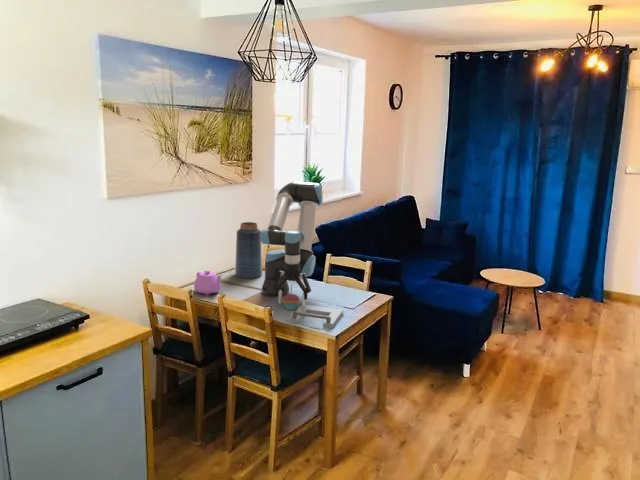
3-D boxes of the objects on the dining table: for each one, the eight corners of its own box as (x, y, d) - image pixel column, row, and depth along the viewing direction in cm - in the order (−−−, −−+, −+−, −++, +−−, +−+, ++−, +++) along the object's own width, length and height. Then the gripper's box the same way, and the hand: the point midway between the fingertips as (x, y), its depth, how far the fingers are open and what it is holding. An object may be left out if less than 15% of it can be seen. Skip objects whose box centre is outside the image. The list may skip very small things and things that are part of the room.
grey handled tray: (289, 321, 245) (289, 311, 244) (302, 308, 264) (302, 298, 263) (332, 328, 240) (332, 317, 238) (342, 313, 258) (343, 303, 257)
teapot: (231, 293, 282) (231, 271, 279) (211, 300, 271) (211, 277, 268) (206, 285, 294) (206, 264, 291) (186, 291, 282) (185, 270, 280)
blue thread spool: (233, 271, 323) (233, 221, 316) (260, 270, 327) (260, 221, 320) (236, 279, 307) (236, 226, 301) (263, 278, 311) (264, 226, 304)
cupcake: (282, 305, 267) (282, 282, 265) (299, 305, 268) (299, 282, 265) (282, 310, 259) (283, 287, 256) (299, 311, 260) (300, 287, 257)
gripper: (266, 261, 258) (266, 303, 262) (313, 266, 251) (312, 309, 256) (272, 258, 265) (272, 299, 270) (318, 262, 259) (317, 304, 263)
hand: (291, 304), depth 263 cm, fingers open, 12 cm apart
